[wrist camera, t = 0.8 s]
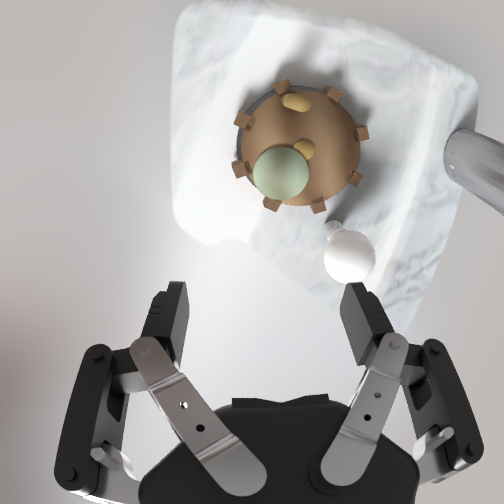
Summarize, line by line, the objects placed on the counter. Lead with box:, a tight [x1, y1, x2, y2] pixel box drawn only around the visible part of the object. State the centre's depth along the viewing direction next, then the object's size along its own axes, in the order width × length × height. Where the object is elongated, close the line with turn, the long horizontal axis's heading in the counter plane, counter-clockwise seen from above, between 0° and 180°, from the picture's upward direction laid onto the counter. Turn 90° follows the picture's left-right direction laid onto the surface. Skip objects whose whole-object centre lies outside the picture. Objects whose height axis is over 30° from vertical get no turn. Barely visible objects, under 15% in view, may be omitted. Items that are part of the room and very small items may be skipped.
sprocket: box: [232, 80, 369, 214], centre depth 28 cm, size 17×17×9 cm
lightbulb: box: [323, 220, 376, 284], centre depth 34 cm, size 6×6×11 cm
